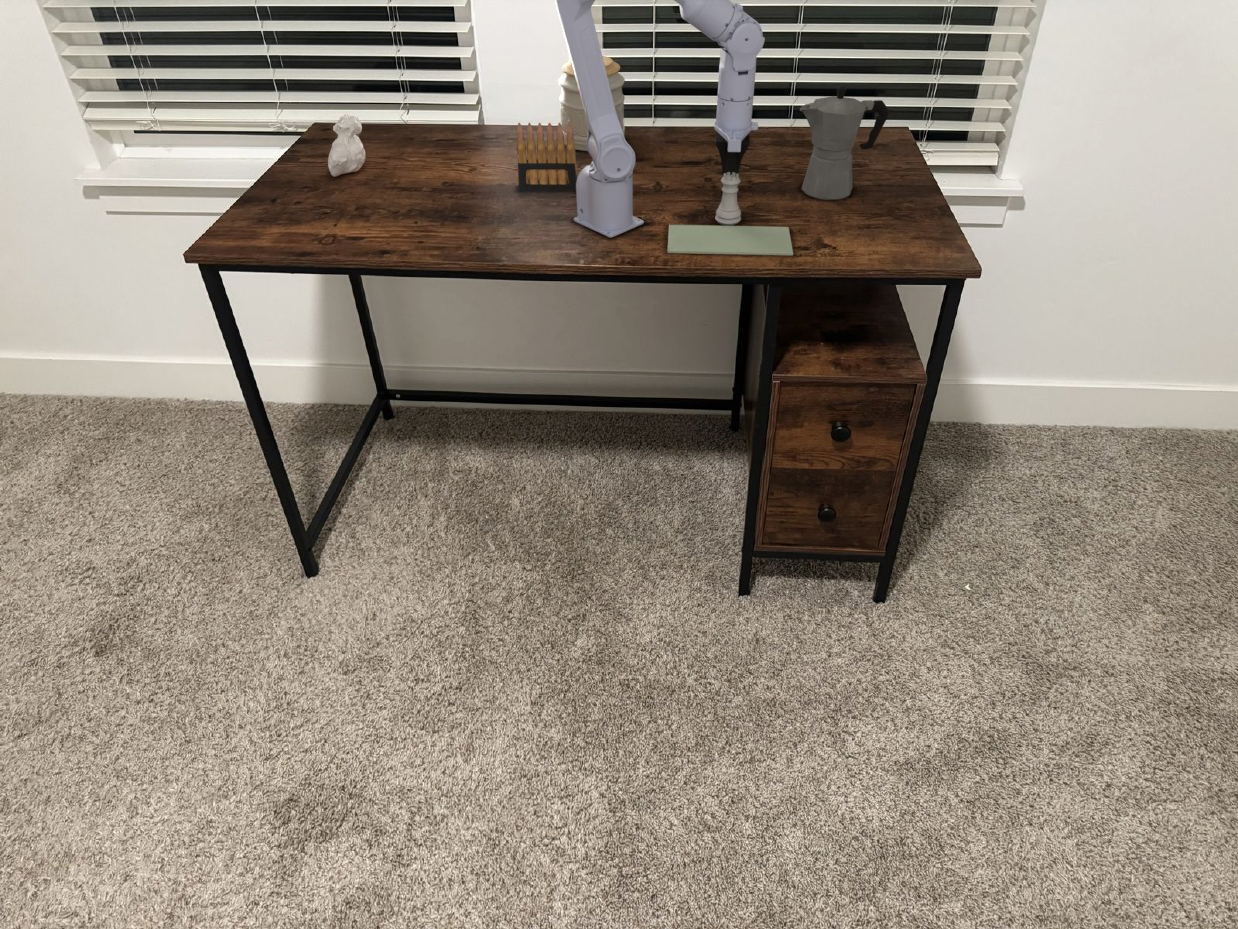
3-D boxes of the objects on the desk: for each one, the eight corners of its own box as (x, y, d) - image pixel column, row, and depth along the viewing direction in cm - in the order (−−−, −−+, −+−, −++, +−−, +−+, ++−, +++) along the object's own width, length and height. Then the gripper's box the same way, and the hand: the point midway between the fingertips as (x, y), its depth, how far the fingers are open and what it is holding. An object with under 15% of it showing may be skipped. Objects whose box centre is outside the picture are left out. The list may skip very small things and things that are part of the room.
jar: (624, 152, 176) (624, 57, 164) (559, 152, 176) (554, 58, 164) (625, 129, 185) (624, 38, 174) (563, 129, 186) (558, 38, 174)
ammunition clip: (578, 186, 163) (575, 120, 155) (577, 190, 162) (574, 124, 154) (520, 186, 163) (514, 120, 156) (518, 190, 162) (513, 124, 154)
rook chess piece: (724, 212, 154) (727, 167, 149) (746, 219, 152) (750, 173, 146) (709, 221, 151) (712, 175, 146) (731, 228, 149) (734, 182, 144)
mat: (667, 252, 142) (667, 250, 142) (668, 226, 150) (668, 224, 150) (793, 255, 141) (793, 253, 141) (788, 228, 149) (788, 226, 148)
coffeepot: (795, 201, 157) (808, 96, 145) (785, 180, 164) (797, 78, 152) (881, 199, 157) (901, 94, 145) (868, 178, 164) (886, 76, 153)
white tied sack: (344, 193, 167) (370, 146, 161) (307, 168, 165) (332, 120, 159) (362, 168, 176) (388, 123, 170) (327, 145, 174) (352, 98, 168)
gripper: (763, 111, 136) (755, 196, 145) (758, 81, 147) (751, 162, 156) (717, 111, 136) (712, 195, 145) (715, 81, 147) (710, 161, 156)
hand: (729, 178), depth 150 cm, fingers closed
